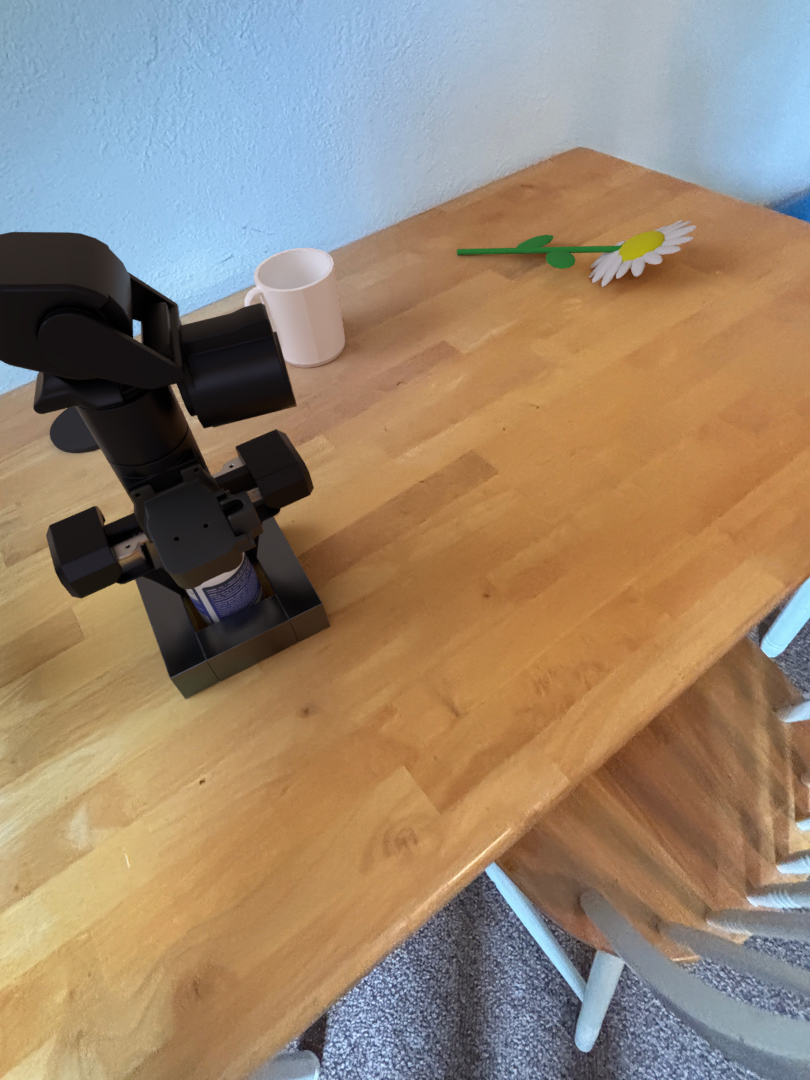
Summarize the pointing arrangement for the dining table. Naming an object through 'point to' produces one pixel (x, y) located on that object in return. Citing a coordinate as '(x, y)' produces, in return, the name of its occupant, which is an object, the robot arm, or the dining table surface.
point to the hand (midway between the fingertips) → (218, 576)
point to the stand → (236, 621)
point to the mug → (301, 305)
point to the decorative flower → (605, 251)
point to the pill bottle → (227, 593)
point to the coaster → (72, 433)
